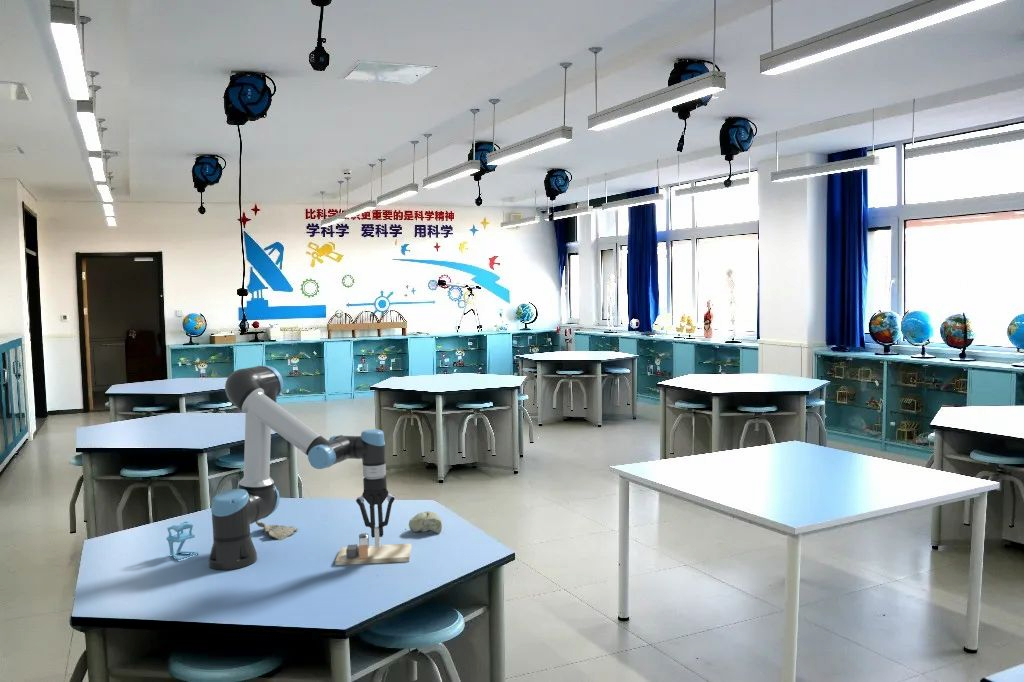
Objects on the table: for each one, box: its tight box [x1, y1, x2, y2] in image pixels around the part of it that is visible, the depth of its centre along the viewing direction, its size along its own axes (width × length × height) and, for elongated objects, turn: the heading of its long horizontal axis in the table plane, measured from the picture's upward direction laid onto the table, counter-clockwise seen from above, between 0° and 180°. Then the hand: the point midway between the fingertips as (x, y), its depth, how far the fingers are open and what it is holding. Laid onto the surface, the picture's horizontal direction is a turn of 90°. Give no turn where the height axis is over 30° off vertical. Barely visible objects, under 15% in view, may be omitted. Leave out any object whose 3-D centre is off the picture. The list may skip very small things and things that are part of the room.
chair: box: [165, 521, 199, 561], centre depth 263 cm, size 8×8×12 cm
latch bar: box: [358, 532, 370, 559], centre depth 258 cm, size 13×3×4 cm, turn 10°
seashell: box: [408, 511, 443, 535], centre depth 284 cm, size 13×8×10 cm
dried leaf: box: [255, 520, 299, 541], centre depth 287 cm, size 18×16×5 cm
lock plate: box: [334, 543, 412, 566], centre depth 258 cm, size 24×14×2 cm, turn 94°
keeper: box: [346, 544, 359, 559], centre depth 255 cm, size 3×5×3 cm, turn 4°
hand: (377, 546), depth 255 cm, fingers closed
